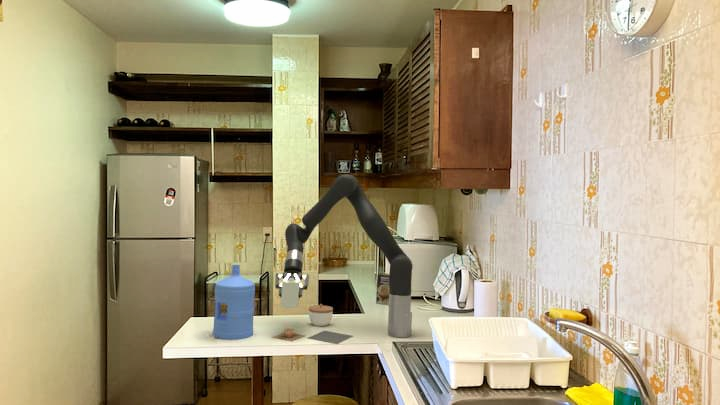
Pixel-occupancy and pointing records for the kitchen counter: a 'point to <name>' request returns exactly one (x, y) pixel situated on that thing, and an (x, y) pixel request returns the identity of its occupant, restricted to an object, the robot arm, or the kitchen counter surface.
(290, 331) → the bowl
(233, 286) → the water jug
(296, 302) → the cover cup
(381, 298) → the coffee box
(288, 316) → the kitchen counter surface
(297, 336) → the coaster
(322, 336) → the mat
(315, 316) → the lidded jar
